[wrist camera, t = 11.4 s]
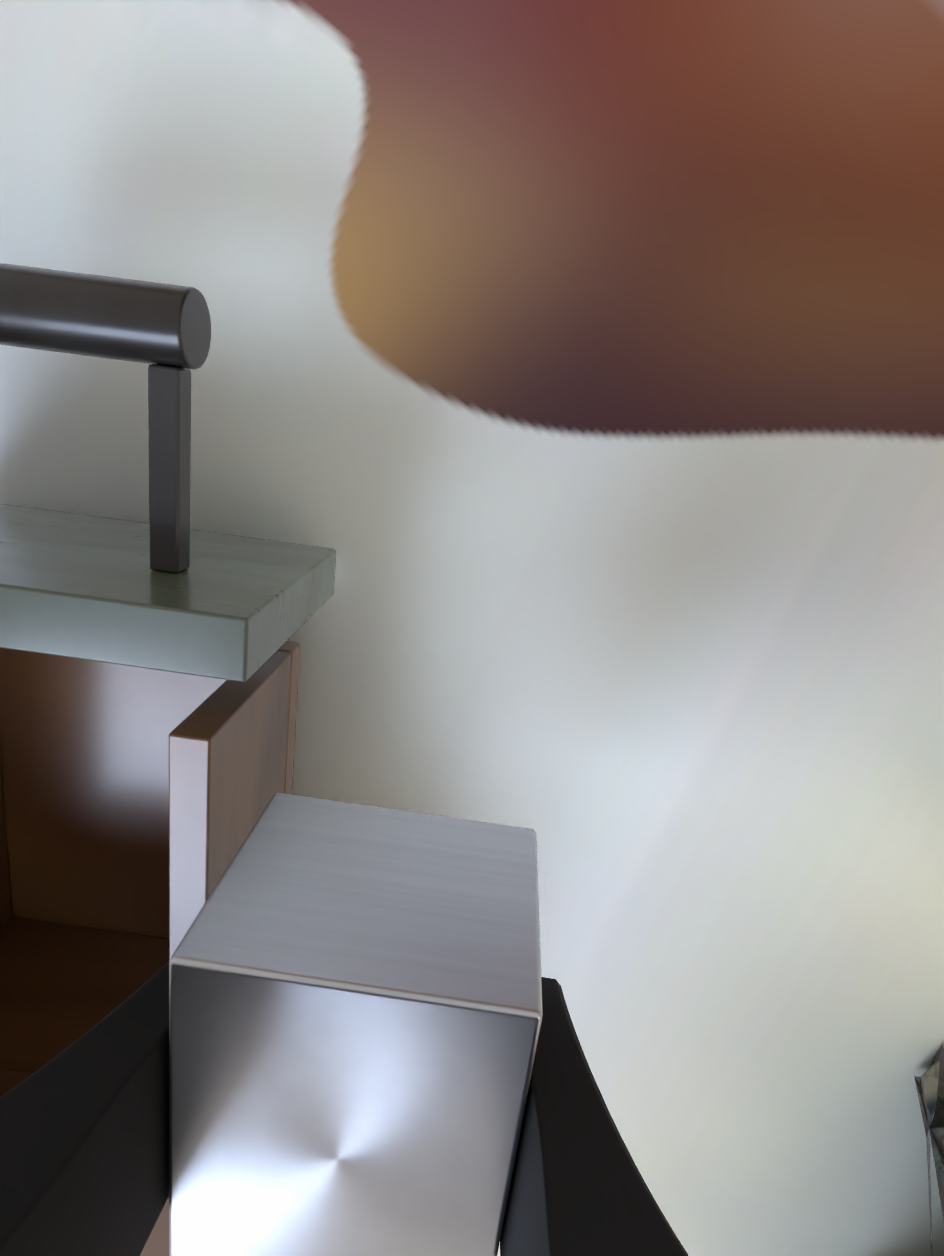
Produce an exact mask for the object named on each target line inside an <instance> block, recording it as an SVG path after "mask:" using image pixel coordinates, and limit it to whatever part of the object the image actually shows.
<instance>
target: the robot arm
mask: <svg viewBox="0 0 944 1256" xmlns="http://www.w3.org/2000/svg"><path fill="white" fill-rule="evenodd" d="M541 984H542V1013H543V1016H542V1022H541V1027H540V1032H539V1037H538V1043H537V1048H536V1053H535V1058H534V1064H533V1069H532V1074H531V1080H530V1085H529V1090H528V1095H527V1101H526V1106H525V1111H524V1116H523V1122H522V1127H521V1132H520V1137H519V1143H518V1148H517V1153H516V1158H515V1164H514V1169H513V1174H512V1179H511V1185H510V1190H509V1195H508V1200H507V1206H506V1211H505V1216H504V1221H503V1227H502V1232H501V1237H500V1254H501V1256H688V1254H687V1252H686V1251H685V1249H684V1248H683V1246H682V1245H681V1243H680V1241H679V1240H678V1238H677V1237H676V1235H675V1233H674V1232H673V1230H672V1228H671V1227H670V1225H669V1223H668V1222H667V1220H666V1218H665V1217H664V1215H663V1213H662V1211H661V1210H660V1208H659V1206H658V1205H657V1203H656V1201H655V1200H654V1198H653V1196H652V1194H651V1192H650V1191H649V1189H648V1187H647V1185H646V1184H645V1182H644V1180H643V1178H642V1176H641V1174H640V1172H639V1171H638V1169H637V1167H636V1165H635V1163H634V1161H633V1159H632V1157H631V1155H630V1153H629V1151H628V1149H627V1147H626V1145H625V1143H624V1141H623V1140H622V1138H621V1136H620V1134H619V1132H618V1130H617V1127H616V1125H615V1123H614V1121H613V1119H612V1117H611V1115H610V1113H609V1111H608V1108H607V1106H606V1104H605V1102H604V1099H603V1097H602V1095H601V1093H600V1090H599V1088H598V1086H597V1084H596V1081H595V1079H594V1077H593V1075H592V1072H591V1070H590V1068H589V1065H588V1063H587V1060H586V1058H585V1055H584V1053H583V1050H582V1048H581V1045H580V1042H579V1040H578V1037H577V1035H576V1032H575V1029H574V1026H573V1023H572V1021H571V1018H570V1015H569V1012H568V1009H567V1006H566V1002H565V999H564V996H563V992H562V988H561V986H560V984H559V983H558V982H557V981H556V979H550V978H543V977H541ZM168 1197H169V962H168V963H166V964H165V965H164V966H163V967H162V968H161V969H160V970H159V971H158V972H156V973H155V974H154V975H153V976H152V977H151V978H150V979H149V980H148V981H146V982H145V983H144V984H143V985H142V986H141V987H140V988H139V989H137V990H136V991H135V992H134V993H133V994H132V995H130V996H129V997H128V998H127V999H126V1000H124V1001H123V1002H122V1003H121V1004H120V1005H119V1006H117V1007H116V1008H115V1009H114V1010H113V1011H112V1012H110V1013H109V1014H108V1015H107V1016H106V1017H105V1018H103V1019H102V1020H101V1021H100V1022H99V1023H97V1024H96V1025H95V1026H94V1027H93V1028H91V1029H90V1030H89V1031H88V1032H86V1033H85V1034H84V1035H82V1036H81V1037H80V1038H79V1039H77V1040H76V1041H75V1042H74V1043H72V1044H71V1045H70V1046H68V1047H67V1048H66V1049H65V1050H63V1051H62V1052H61V1053H59V1054H58V1055H57V1056H56V1057H54V1058H53V1059H52V1060H51V1061H49V1062H48V1063H47V1064H45V1065H44V1066H43V1067H41V1068H40V1069H39V1070H37V1071H36V1072H35V1073H33V1074H32V1075H31V1076H29V1077H28V1078H27V1079H25V1080H24V1081H22V1082H21V1083H20V1084H18V1085H17V1086H16V1087H14V1088H13V1089H11V1090H10V1091H8V1092H7V1093H6V1094H4V1095H3V1096H1V1097H0V1256H140V1254H141V1252H142V1250H143V1248H144V1246H145V1244H146V1242H147V1240H148V1238H149V1236H150V1234H151V1232H152V1230H153V1228H154V1226H155V1224H156V1221H157V1219H158V1217H159V1215H160V1213H161V1211H162V1209H163V1207H164V1205H165V1203H166V1201H167V1199H168Z"/></svg>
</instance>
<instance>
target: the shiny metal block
mask: <svg viewBox="0 0 944 1256" xmlns="http://www.w3.org/2000/svg"><path fill="white" fill-rule="evenodd" d="M542 1016H543V1013H542V984H541V955H540V926H539V898H538V869H537V840H536V832H535V830H533V829H528V828H521V827H514V826H507V825H500V824H493V823H486V822H479V821H472V820H465V819H458V818H451V817H445V816H438V815H431V814H424V813H417V812H410V811H403V810H396V809H389V808H382V807H375V806H368V805H361V804H354V803H347V802H340V801H333V800H326V799H319V798H312V797H305V796H298V795H291V794H284V793H275V794H274V795H273V796H272V798H271V799H270V801H269V803H268V804H267V806H266V807H265V809H264V811H263V812H262V814H261V815H260V817H259V818H258V820H257V822H256V823H255V825H254V826H253V828H252V830H251V831H250V833H249V834H248V836H247V837H246V839H245V841H244V842H243V844H242V845H241V847H240V849H239V850H238V852H237V853H236V855H235V856H234V858H233V860H232V861H231V863H230V864H229V866H228V868H227V869H226V871H225V872H224V874H223V876H222V877H221V879H220V880H219V882H218V883H217V885H216V887H215V888H214V890H213V891H212V893H211V895H210V896H209V898H208V899H207V901H206V902H205V904H204V906H203V907H202V909H201V910H200V912H199V914H198V915H197V917H196V918H195V920H194V921H193V923H192V925H191V926H190V928H189V929H188V931H187V933H186V934H185V936H184V937H183V939H182V941H181V942H180V944H179V945H178V947H177V948H176V950H175V952H174V953H173V955H172V956H171V958H170V960H169V1256H497V1253H498V1248H499V1242H500V1237H501V1232H502V1227H503V1221H504V1216H505V1211H506V1206H507V1200H508V1195H509V1190H510V1185H511V1179H512V1174H513V1169H514V1164H515V1158H516V1153H517V1148H518V1143H519V1137H520V1132H521V1127H522V1122H523V1116H524V1111H525V1106H526V1101H527V1095H528V1090H529V1085H530V1080H531V1074H532V1069H533V1064H534V1058H535V1053H536V1048H537V1043H538V1037H539V1032H540V1027H541V1022H542Z"/></svg>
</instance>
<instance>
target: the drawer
mask: <svg viewBox="0 0 944 1256" xmlns="http://www.w3.org/2000/svg"><path fill="white" fill-rule="evenodd" d="M210 340H211V322H210V315H209V310H208V306H207V303H206V300H205V298H204V296H203V295H202V293H201V292H200V291H199V290H197V289H196V288H193V287H186V286H178V285H170V284H162V283H154V282H146V281H138V280H130V279H122V278H114V277H106V276H98V275H90V274H82V273H74V272H66V271H58V270H50V269H42V268H34V267H26V266H18V265H10V264H2V263H0V345H8V346H16V347H24V348H31V349H39V350H47V351H55V352H62V353H70V354H78V355H86V356H94V357H101V358H109V359H117V360H125V361H133V362H140V363H148V364H152V365H149V367H148V402H149V514H150V524H146V523H139V522H132V521H124V520H117V519H109V518H102V517H95V516H87V515H80V514H72V513H65V512H58V511H50V510H43V509H35V508H28V507H21V506H13V505H6V504H0V1068H2V1069H9V1070H15V1071H21V1072H28V1073H35V1072H36V1071H37V1070H39V1069H40V1068H41V1067H43V1066H44V1065H45V1064H47V1063H48V1062H49V1061H51V1060H52V1059H53V1058H54V1057H56V1056H57V1055H58V1054H59V1053H61V1052H62V1051H63V1050H65V1049H66V1048H67V1047H68V1046H70V1045H71V1044H72V1043H74V1042H75V1041H76V1040H77V1039H79V1038H80V1037H81V1036H82V1035H84V1034H85V1033H86V1032H88V1031H89V1030H90V1029H91V1028H93V1027H94V1026H95V1025H96V1024H97V1023H99V1022H100V1021H101V1020H102V1019H103V1018H105V1017H106V1016H107V1015H108V1014H109V1013H110V1012H112V1011H113V1010H114V1009H115V1008H116V1007H117V1006H119V1005H120V1004H121V1003H122V1002H123V1001H124V1000H126V999H127V998H128V997H129V996H130V995H132V994H133V993H134V992H135V991H136V990H137V989H139V988H140V987H141V986H142V985H143V984H144V983H145V982H146V981H148V980H149V979H150V978H151V977H152V976H153V975H154V974H155V973H156V972H158V971H159V970H160V969H161V968H162V967H163V966H164V965H165V964H166V963H168V962H169V960H170V958H171V956H172V955H173V953H174V952H175V950H176V948H177V947H178V945H179V944H180V942H181V941H182V939H183V937H184V936H185V934H186V933H187V931H188V929H189V928H190V926H191V925H192V923H193V921H194V920H195V918H196V917H197V915H198V914H199V912H200V910H201V909H202V907H203V906H204V904H205V902H206V901H207V899H208V898H209V896H210V895H211V893H212V891H213V890H214V888H215V887H216V885H217V883H218V882H219V880H220V879H221V877H222V876H223V874H224V872H225V871H226V869H227V868H228V866H229V864H230V863H231V861H232V860H233V858H234V856H235V855H236V853H237V852H238V850H239V849H240V847H241V845H242V844H243V842H244V841H245V839H246V837H247V836H248V834H249V833H250V831H251V830H252V828H253V826H254V825H255V823H256V822H257V820H258V818H259V817H260V815H261V814H262V812H263V811H264V809H265V807H266V806H267V804H268V803H269V801H270V799H271V798H272V796H273V795H274V794H275V793H284V794H291V795H292V782H293V764H294V746H295V727H296V709H297V691H298V673H299V655H300V645H299V644H298V643H295V642H288V641H287V640H288V639H289V638H290V637H291V636H292V635H293V634H294V633H295V632H296V631H297V630H298V629H299V628H300V627H301V626H302V625H303V624H304V623H305V622H306V621H307V620H308V619H309V618H310V617H311V616H312V615H313V614H314V613H315V612H316V611H317V610H318V609H319V608H320V607H321V606H322V605H323V604H324V603H325V602H326V601H327V600H328V599H329V598H330V597H331V596H332V595H333V593H334V580H335V566H336V550H335V549H332V548H324V547H317V546H309V545H302V544H295V543H287V542H280V541H272V540H265V539H258V538H250V537H243V536H235V535H228V534H221V533H213V532H206V531H198V530H191V529H190V449H191V371H190V370H189V369H197V368H200V367H201V366H202V365H203V364H204V362H205V360H206V358H207V355H208V352H209V347H210ZM155 364H156V365H155Z"/></svg>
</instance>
